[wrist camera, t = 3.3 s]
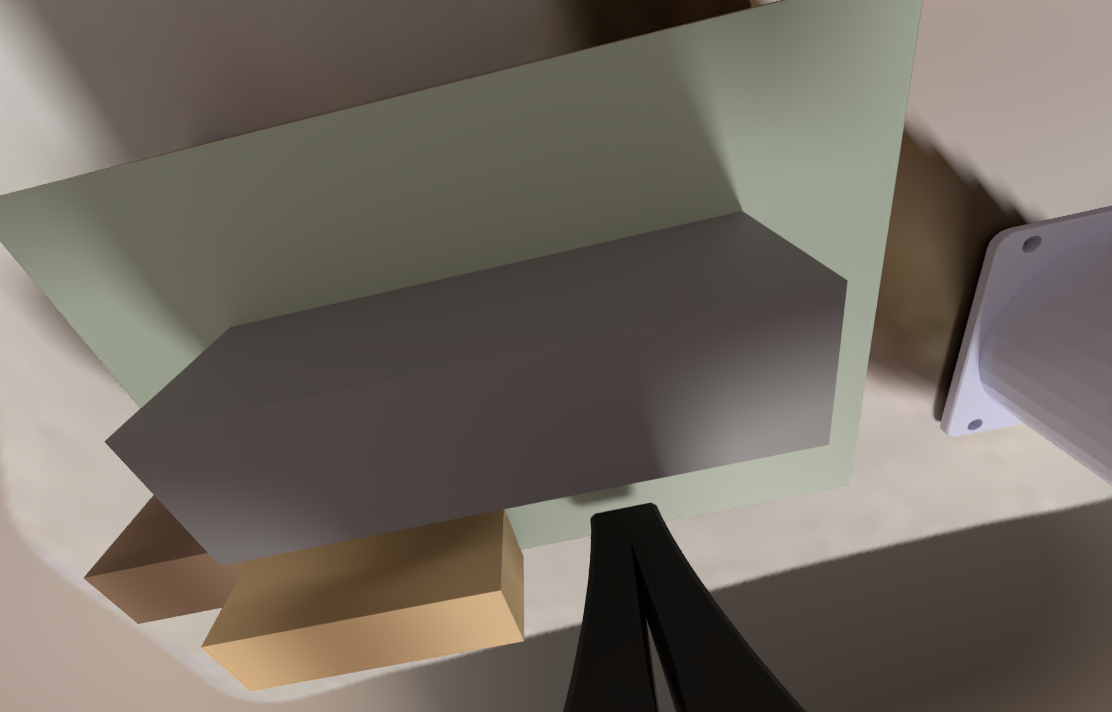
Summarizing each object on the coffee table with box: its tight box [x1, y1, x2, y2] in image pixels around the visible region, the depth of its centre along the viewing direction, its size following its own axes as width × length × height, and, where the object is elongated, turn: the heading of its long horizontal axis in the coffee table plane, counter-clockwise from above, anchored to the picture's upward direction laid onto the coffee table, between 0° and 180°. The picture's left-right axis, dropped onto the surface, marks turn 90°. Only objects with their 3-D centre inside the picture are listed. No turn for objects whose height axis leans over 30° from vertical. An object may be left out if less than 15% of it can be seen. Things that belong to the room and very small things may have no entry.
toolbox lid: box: [0, 0, 923, 566], centre depth 9 cm, size 14×10×5 cm
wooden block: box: [201, 509, 524, 691], centre depth 11 cm, size 6×2×2 cm, turn 102°
